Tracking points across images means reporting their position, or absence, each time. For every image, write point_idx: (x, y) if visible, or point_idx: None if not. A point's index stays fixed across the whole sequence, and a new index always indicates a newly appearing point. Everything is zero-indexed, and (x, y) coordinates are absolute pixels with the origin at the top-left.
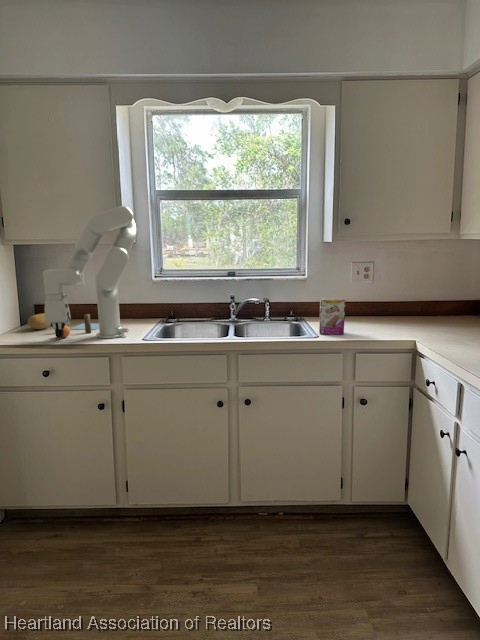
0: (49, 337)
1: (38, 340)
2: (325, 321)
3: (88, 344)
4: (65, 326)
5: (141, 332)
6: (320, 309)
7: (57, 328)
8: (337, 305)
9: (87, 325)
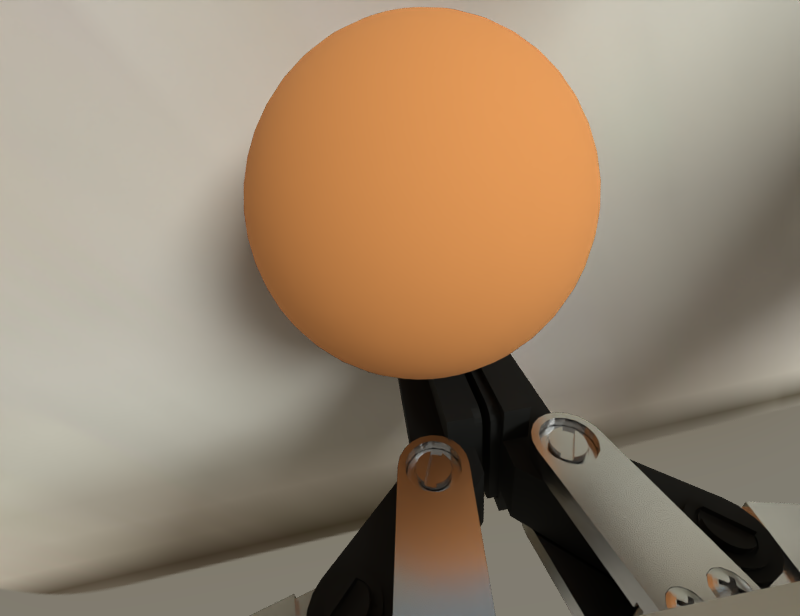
0: (128, 227)
1: (156, 408)
2: None
3: (780, 399)
4: (568, 281)
5: None
6: None
7: (481, 509)
8: None
9: None
